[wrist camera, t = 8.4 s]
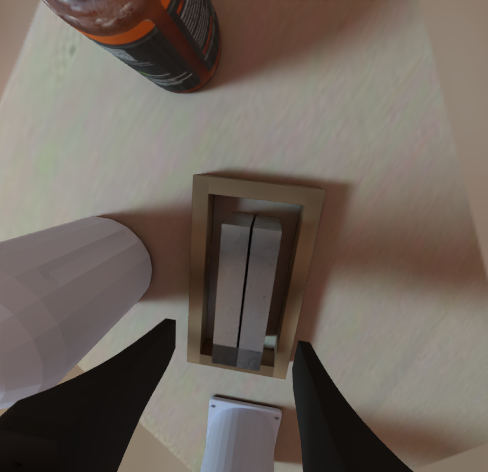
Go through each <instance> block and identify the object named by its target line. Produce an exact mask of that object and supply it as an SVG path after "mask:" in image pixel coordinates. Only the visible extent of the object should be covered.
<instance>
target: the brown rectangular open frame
mask: <svg viewBox="0 0 488 472" xmlns="http://www.w3.org/2000/svg"><path fill="white" fill-rule="evenodd" d="M325 193H326V190H325V189H322V188H320V187H312V186H303V185H295V184H286V183H277V182H268V181H260V180H251V179H242V178H234V177H225V176H216V175H208V174H195V175H193V191H192V223H191V254H190V285H189V316H188V348H187V362H191V363H197V364H202V365H208V366H213V367H219V368H224V369H230V370H235V371H241V372H246V373H252V374H258V375H263V376H269V377H274V378H280V379H286V374H287V370H288V365H289V360H290V356H291V351H292V346H293V342H294V337H295V333H296V328H297V323H298V319H299V314H300V309H301V305H302V300H303V295H304V291H305V286H306V281H307V277H308V272H309V268H310V263H311V258H312V254H313V249H314V244H315V240H316V235H317V230H318V226H319V221H320V216H321V212H322V207H323V202H324V198H325ZM215 194H216V195H224V196H233V197H241V198H249V199H257V200H266V201H274V202H282V203H290V204H298V205H301V207H300V212H299V217H298V223H297V228H296V234H295V239H294V245H293V250H292V255H291V261H290V266H289V272H288V277H287V283H286V288H285V293H284V299H283V304H282V310H281V315H280V321H279V326H278V331H277V337H276V342H275V348H274V350H270V349H264V348H263V352H262V359H261V365H260V371H255V370H249V369H244V368H238V367H233V366H227V365H221V364H216V363H212V350H213V340H211V339H206V324H207V308H208V293H209V277H210V261H211V245H212V229H213V213H214V197H215Z"/></svg>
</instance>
